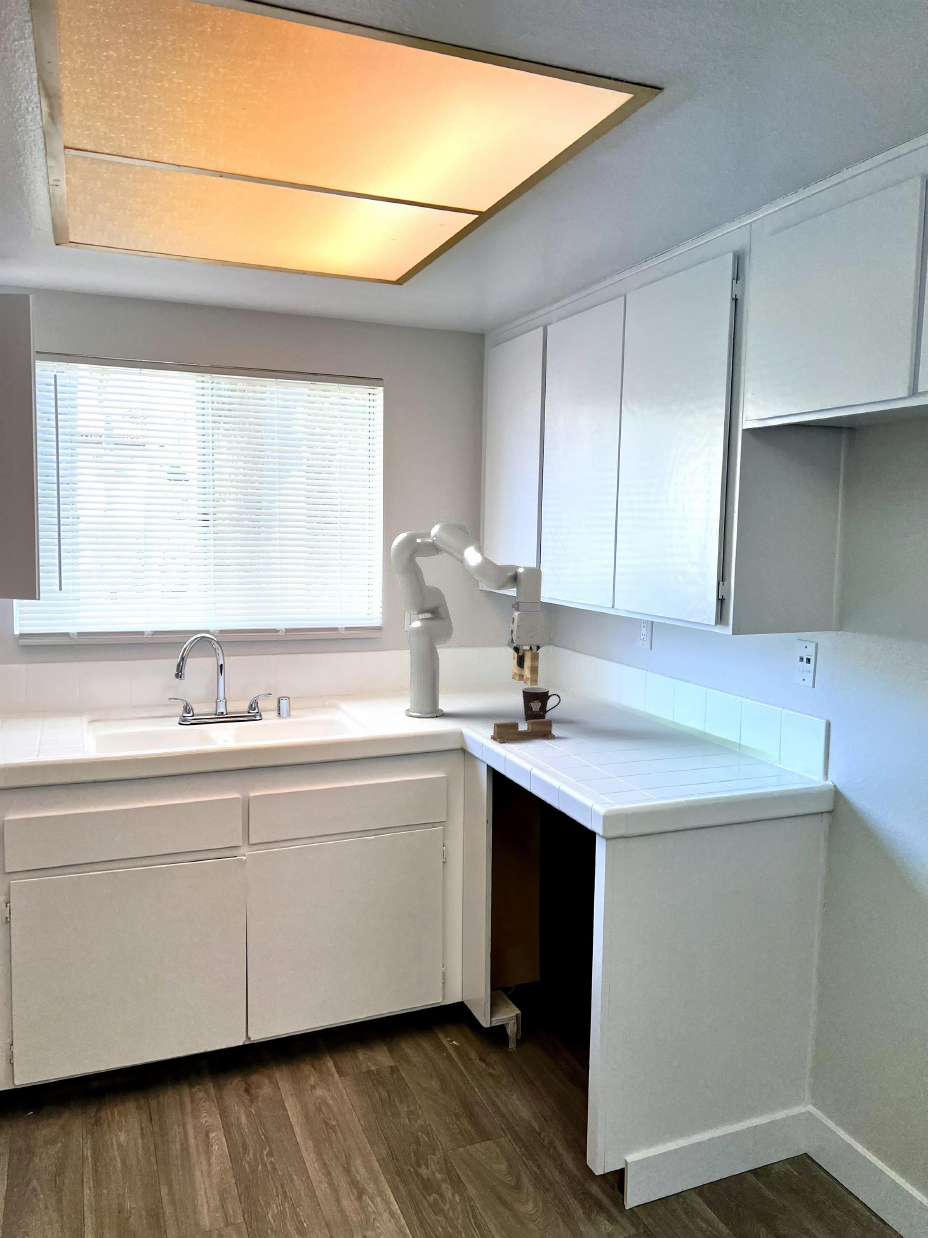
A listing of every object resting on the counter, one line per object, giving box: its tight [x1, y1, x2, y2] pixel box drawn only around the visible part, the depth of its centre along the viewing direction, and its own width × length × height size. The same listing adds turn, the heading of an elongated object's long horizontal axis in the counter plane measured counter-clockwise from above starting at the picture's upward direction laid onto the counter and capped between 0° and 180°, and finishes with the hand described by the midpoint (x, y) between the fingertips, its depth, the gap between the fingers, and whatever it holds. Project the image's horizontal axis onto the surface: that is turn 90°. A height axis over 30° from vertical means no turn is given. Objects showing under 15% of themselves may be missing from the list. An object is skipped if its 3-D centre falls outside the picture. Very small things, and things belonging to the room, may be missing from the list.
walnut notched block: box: [490, 718, 556, 744], centre depth 265 cm, size 6×18×5 cm, turn 113°
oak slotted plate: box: [511, 647, 540, 687], centre depth 277 cm, size 12×3×10 cm, turn 23°
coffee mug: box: [521, 686, 562, 722], centre depth 289 cm, size 12×9×10 cm
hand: (525, 666), depth 278 cm, fingers closed on oak slotted plate, 2 cm apart
